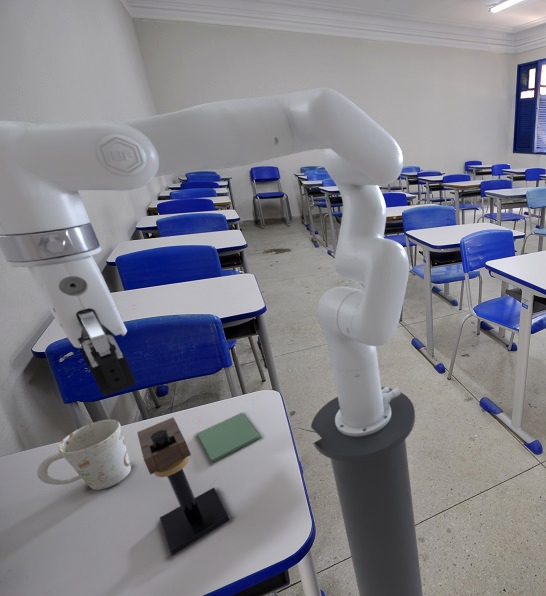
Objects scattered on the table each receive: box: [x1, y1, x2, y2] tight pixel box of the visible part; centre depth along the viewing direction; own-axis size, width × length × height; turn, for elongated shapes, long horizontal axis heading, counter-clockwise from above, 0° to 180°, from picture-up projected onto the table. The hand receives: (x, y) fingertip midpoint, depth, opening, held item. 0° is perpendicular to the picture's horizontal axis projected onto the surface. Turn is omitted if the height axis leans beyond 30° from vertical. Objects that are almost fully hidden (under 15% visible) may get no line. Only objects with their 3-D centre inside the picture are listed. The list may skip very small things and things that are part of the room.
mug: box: [36, 419, 132, 491], centre depth 68 cm, size 8×13×10 cm, turn 124°
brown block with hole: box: [137, 416, 192, 475], centre depth 59 cm, size 12×5×2 cm, turn 45°
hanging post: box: [151, 430, 230, 556], centre depth 58 cm, size 8×8×18 cm
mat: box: [196, 412, 261, 463], centre depth 79 cm, size 9×11×1 cm
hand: (111, 375), depth 48 cm, fingers open, 9 cm apart
